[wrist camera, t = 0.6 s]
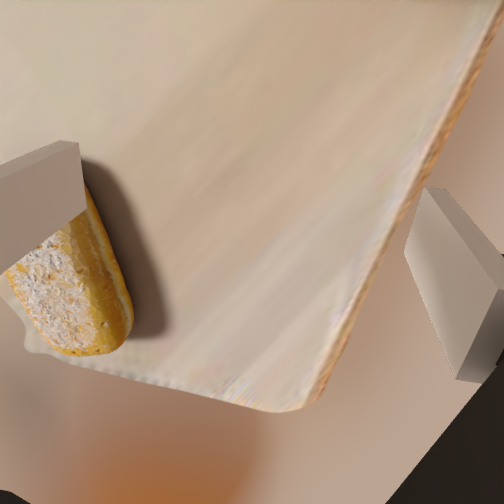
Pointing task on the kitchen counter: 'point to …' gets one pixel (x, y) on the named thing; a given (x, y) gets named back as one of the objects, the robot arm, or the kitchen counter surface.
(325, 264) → the kitchen counter surface
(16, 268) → the bread
